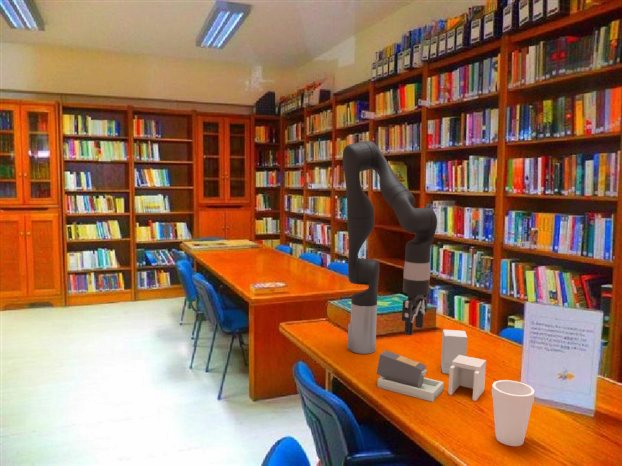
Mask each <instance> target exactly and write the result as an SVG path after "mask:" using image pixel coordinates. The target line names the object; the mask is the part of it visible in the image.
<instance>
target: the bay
mask: <svg viewBox="0 0 622 466" xmlns="http://www.w3.org/2000/svg"><path fill="white" fill-rule="evenodd" d="M486 366H487V360H486V359H482V358H478V357H476V358H475V357H473V356H467V355H466V356H463V355H458V356H457V357H456V358H455V359H454V360H453V361H452V366H451V367H450V372H449V374H448V375H449V376H448V391H447V392H448V394H447V395H450V396H451V395H453V394H454V393H455V392H456V390H457V389H458V388H460V387H464V388H469V389H472V401H475V402H477V401H478V399H479V398H480V396H481V395H482V394H483V393H484V391H485V384H486V383H485V382H486V370H487V369H486V368H487V367H486Z"/></svg>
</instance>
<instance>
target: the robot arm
mask: <svg viewBox="0 0 622 466" xmlns="http://www.w3.org/2000/svg"><path fill="white" fill-rule="evenodd" d="M342 151H343V152H342V166H343V173H344V181H345V189H346V190H345V191H346V193H345V194H346V195H345V196H346V222H347V224H346V225H347V226H346V227H347V239H348V241H347V242H348V257H347V258H348V259H347V260H348V261H347V276H348V281H349V283H350V284H354V285H361V286H362V285H364V286H368V287H367V288H366V289H365V290H362V291H359V292H356V293H352V295H351V301H350V302H351V303H350V322H349V323H348V324H347V350H350V351H351V352H353V353H355V354H361V355H367V354H372V353H373V354H374V353H375V352H376V346H377V345H376V343H377V321H378V320H377V318H378V317H377V316H378V315H377V314H378V294H379V293H378V289H379V279H380V263H379V261H378V260H377V259H375V258H373V259H372V258H359V252H360V250H361V249H362V247H363V245H364V243H366V240H367V239H368V238H369V236H370V235H371V233H373V230H374V229H375V207H374V205H373V202H372V201H371V199H370V198H369V196H368V195H367V194H366V192H365V191H364V189H363V188H362V185H361V179H360V175H361V174H360V173H361V172H364V171H368V170H373V171H374V172H376V174H377V175H378V178H379V189H380V193H381V196H382V197H383V199H384V200H385V201H386V202H387V204H388V205H389V207H391V209H393V210H394V213H395V216H396V218H397V220H398V222H399V225H400V226H401V227H402V229H404V231H406V232H408V233H410V234H415V235H414V237H413V239H411V240H409V241H407V242H406V244H405V251H404V253H405V254H404V255H405V256H404V266H403V277H402V279H403V280H402V291H403V293H405V294H407V299H403V300H402V308H401V309H402V311H401V321H402V322H404V334H405V335H407V336H413V333H414V326H415V327H416V328H419V329H422V328H423V327H424V319H425V318H424V316H425V314H426V312H428V294H429V293H430V282H431V281H430V279H431V265H430V264H431V263H430V261H431V248H432V247H431V246H432V245H433V241H434V238H435V235H436V232H437V228H438V217H437V213H436V212H435V210H433V209H432V208H429V207H415V203H416V199H415V198H416V197H415V196H414V195H413V193H412V192H411V191H410V190H409V189H408V188H407V187H406V186H405V184H403V183H402V182H401V180H400V179H399V178H398V176H397V175H396V174H395V172H394V171H393V169H392V167H391V165H390V163H389V162H388V161H387V159H386V157H385V156H384V154H383V152H382V151H381V149H380V148H379V147H378V145H377V144H376V143H375V142H374V141H372V140H371V141H370V140H365V141H364V140H363V141H359V142H355V143H350V144H348V145H345V147H344V148H343V150H342ZM414 321H415V324H414Z"/></svg>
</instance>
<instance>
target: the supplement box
mask: <svg viewBox="0 0 622 466" xmlns="http://www.w3.org/2000/svg"><path fill="white" fill-rule="evenodd" d="M441 339H442V341H441V343H442V344H441V360H440V361H441V362H440V367H441V373H442V374H448V375H449V372H450V367H451V366H452V361H453V360H454V359H455V358H456V357H457V356H458V355H463V356H467V353H468V336H467V333H466V331H465V330H458V329H457V330H456V329H455V330H454V329H443V330H442V338H441Z"/></svg>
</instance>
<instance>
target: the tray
mask: <svg viewBox="0 0 622 466" xmlns="http://www.w3.org/2000/svg"><path fill="white" fill-rule="evenodd" d="M444 386H445V381H441V380H436V379H432V378H428V377H425V376H424V378H423V383H422V386H421V387H420V388H416V387H412V386H408V385H405V384H401V383H397V382H395V381H392V380H390V379H387V378H385V377H382V376H380V377H379V378H377V388H379V389H383V390H387V391H391V392H395V393H398V394H401V395H402V394H403V395H405V396H410V397H413V398H417V399H421V400H425V401H427V402H432V403H433V402H434V401H435V400H436V399H437V398H438V397H439V396H440V395H441V394H442V392H443V391H444Z"/></svg>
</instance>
